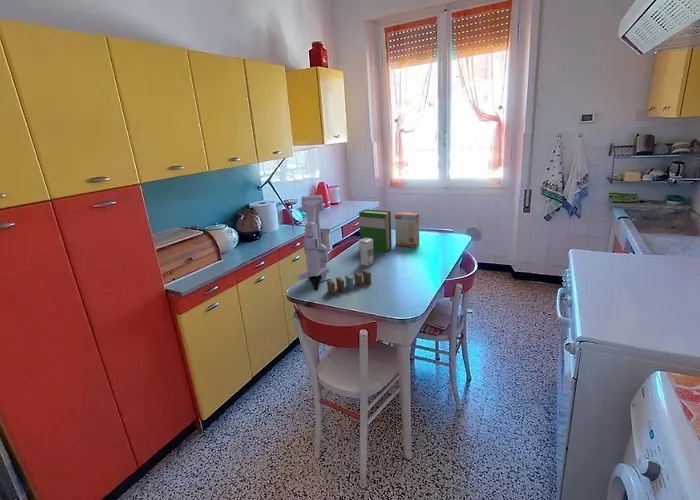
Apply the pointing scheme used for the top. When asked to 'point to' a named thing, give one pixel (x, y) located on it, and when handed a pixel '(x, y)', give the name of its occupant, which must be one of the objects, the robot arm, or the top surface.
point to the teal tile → (349, 282)
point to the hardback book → (376, 228)
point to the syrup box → (366, 251)
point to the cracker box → (407, 229)
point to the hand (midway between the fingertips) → (315, 290)
